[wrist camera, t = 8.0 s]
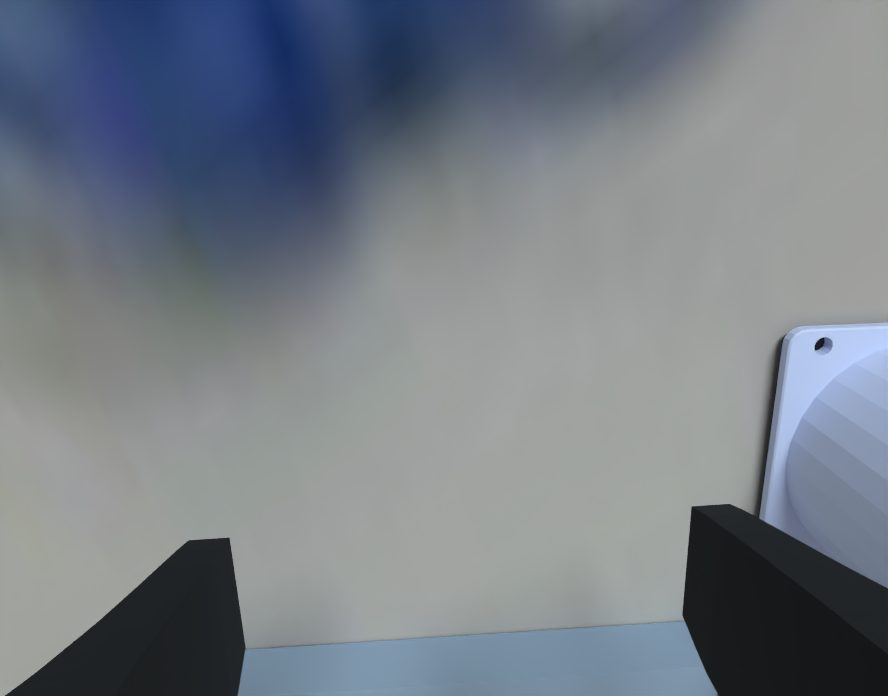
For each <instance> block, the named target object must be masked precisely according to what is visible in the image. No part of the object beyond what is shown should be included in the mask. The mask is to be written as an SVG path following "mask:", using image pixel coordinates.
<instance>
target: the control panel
mask: <svg viewBox="0 0 888 696" xmlns="http://www.w3.org/2000/svg"><path fill="white" fill-rule="evenodd" d="M238 696H719V695H718V693H717V692H716V690H715V688H714V686H713V684H712V683H711V681H710V679H709V677H708V675H707V673H706V671H705V669H704V666H703V664H702V662H701V659H700V657H699V655H698V653H697V650H696V648H695V645H694V643H693V640H692V638H691V635H690V633H689V630H688V628H687V625H686V623H685V621H679V622H663V623H648V624H633V625H617V626H602V627H586V628H571V629H556V630H540V631H525V632H510V633H494V634H479V635H463V636H448V637H433V638H417V639H402V640H387V641H371V642H356V643H340V644H325V645H310V646H294V647H279V648H264V649H248V650H245V654H244V661H243V667H242V673H241V679H240V685H239V691H238Z"/></svg>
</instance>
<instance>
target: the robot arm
mask: <svg viewBox="0 0 888 696" xmlns="http://www.w3.org/2000/svg"><path fill="white" fill-rule="evenodd" d="M823 337H824V339H825V342H824V345H823V346H822V347H821V348H820V349H819V350H816V351H815V348H814V346H815V344H816V342H817V341H818V340H819V339H820V338H823ZM682 615H683V618H684V620H685V623H686V625H687V628H688V630H689V633H690V635H691V638H692V640H693V643H694V645H695V648H696V650H697V653H698V655H699V657H700V659H701V662H702V664H703V666H704V669H705V671H706V673H707V675H708V677H709V679H710V681H711V683H712V684H713V686H714V688H715V690H716V692H717V693H718V695H719V696H888V323H869V324H844V325H820V326H801V327H796V328H794V329H793V330H791V331H789V332H788V334H787V335H786V336H785V338H784V341H783V344H782V351H781V359H780V366H779V374H778V381H777V389H776V396H775V404H774V411H773V419H772V426H771V434H770V441H769V449H768V456H767V464H766V471H765V479H764V486H763V494H762V501H761V509H760V516H759V518H757V517H755V516H754V515H752V514H750V513H748V512H746V511H744V510H742V509H740V508H737V507H735V506H733V505H731V504H723V505H708V506H693V507H692V510H691V522H690V533H689V545H688V556H687V568H686V580H685V591H684V603H683V614H682ZM244 654H245V642H244V635H243V628H242V621H241V614H240V607H239V600H238V594H237V587H236V580H235V573H234V566H233V559H232V552H231V545H230V539H229V538H218V539H204V540H189V541H188V542H186V543H185V544H184V545H183V546H182V547H180V548H179V549H178V550H177V551H176V552H175V553H174V554H173V555H171V556H170V557H169V558H168V559H167V560H166V561H165V562H164V563H163V564H162V565H160V566H159V567H158V568H157V569H156V570H155V571H154V572H153V573H152V574H151V575H150V576H149V577H147V578H146V579H145V580H144V581H143V582H142V583H141V584H140V585H139V586H138V587H137V588H135V589H134V590H133V591H132V592H131V593H130V594H129V595H128V596H127V597H125V598H124V599H123V600H122V601H121V602H120V603H119V604H118V605H116V606H115V607H114V608H113V609H112V610H111V611H110V612H109V613H108V614H106V615H105V616H104V617H103V618H102V619H101V620H100V621H98V622H97V623H96V624H95V625H94V626H93V627H91V628H90V629H89V630H88V631H86V632H85V633H84V634H83V635H82V636H80V637H79V638H78V639H77V640H75V641H74V642H73V643H72V644H71V645H69V646H68V647H67V648H66V649H64V650H63V651H62V652H61V653H60V654H58V655H57V656H56V657H55V658H53V659H52V660H51V661H50V662H49V663H47V664H46V665H45V666H44V667H42V668H41V669H40V670H39V671H38V672H36V673H35V674H34V675H32V676H31V677H30V678H28V679H27V680H26V681H24V682H23V683H22V684H20V685H19V686H18V687H16V688H15V689H14V690H12V691H11V692H10V693H8V694H7V695H5V696H238V691H239V685H240V679H241V673H242V667H243V661H244Z"/></svg>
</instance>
